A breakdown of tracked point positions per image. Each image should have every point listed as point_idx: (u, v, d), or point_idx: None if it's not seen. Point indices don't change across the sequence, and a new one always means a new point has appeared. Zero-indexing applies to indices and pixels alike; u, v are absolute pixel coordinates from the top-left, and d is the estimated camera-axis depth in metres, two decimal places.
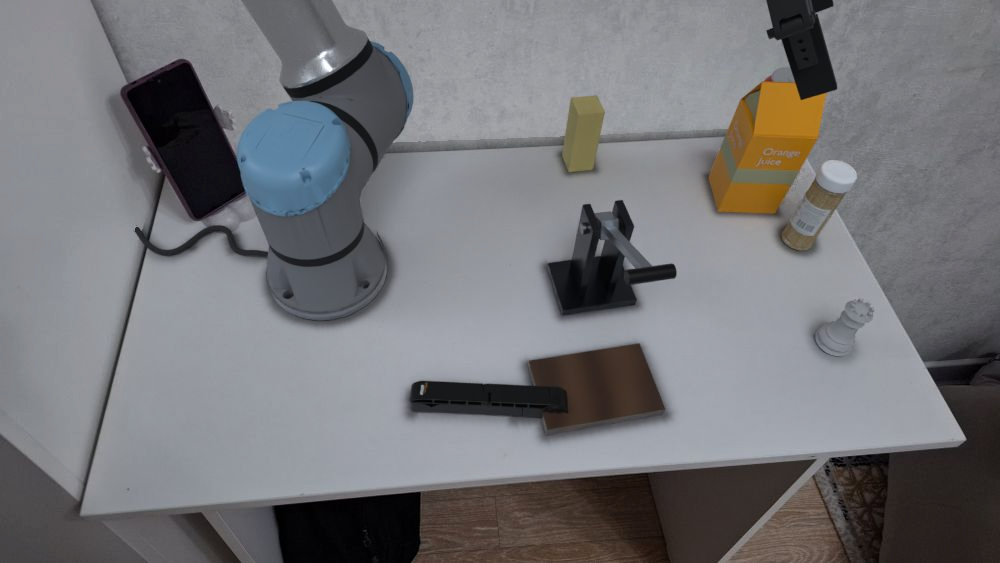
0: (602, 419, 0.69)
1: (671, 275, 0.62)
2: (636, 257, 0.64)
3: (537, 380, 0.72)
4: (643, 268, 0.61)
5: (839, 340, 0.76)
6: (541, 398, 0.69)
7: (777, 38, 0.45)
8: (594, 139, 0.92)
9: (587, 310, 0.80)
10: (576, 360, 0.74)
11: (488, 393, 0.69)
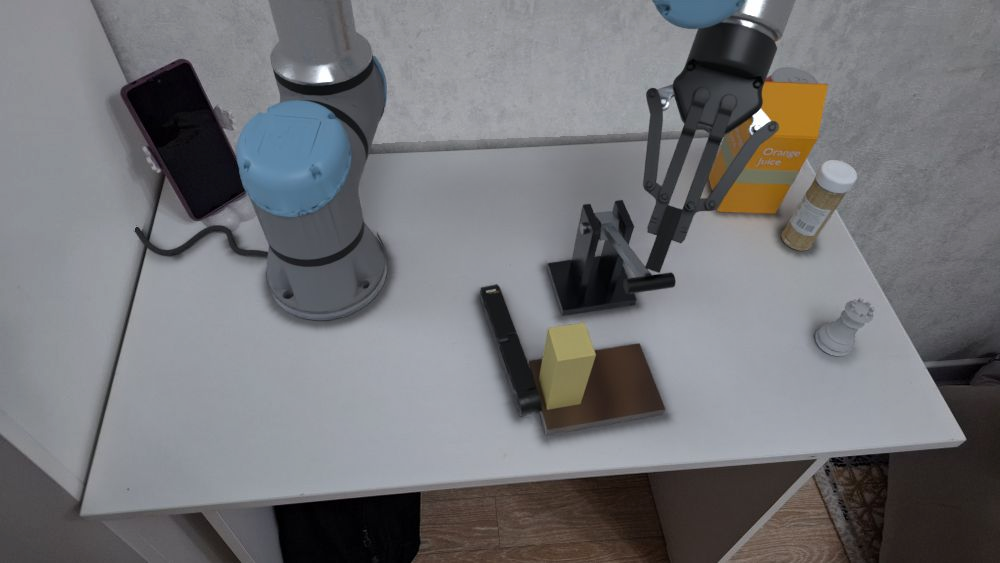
0: (602, 419, 0.69)
1: (670, 284, 0.62)
2: (635, 264, 0.65)
3: (537, 380, 0.72)
4: (642, 277, 0.62)
5: (839, 340, 0.76)
6: (520, 383, 0.70)
7: (712, 210, 0.59)
8: (581, 379, 0.66)
9: (587, 310, 0.80)
10: None
11: (507, 339, 0.74)
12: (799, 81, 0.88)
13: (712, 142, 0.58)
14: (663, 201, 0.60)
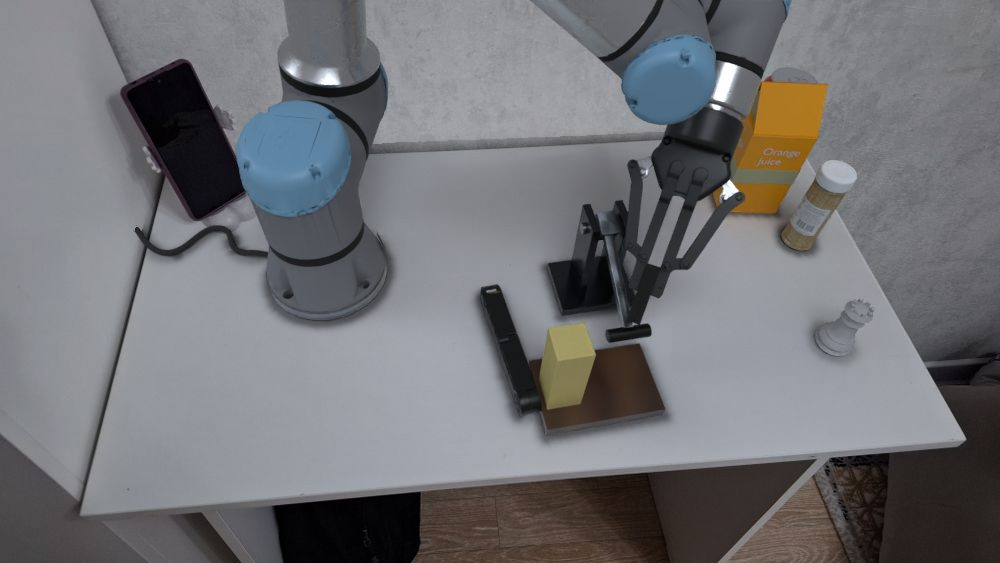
0: (602, 419, 0.69)
1: None
2: (621, 306, 0.71)
3: (537, 380, 0.72)
4: (624, 333, 0.70)
5: (839, 340, 0.76)
6: (520, 383, 0.70)
7: (686, 269, 0.66)
8: (581, 379, 0.66)
9: (587, 310, 0.80)
10: None
11: (508, 339, 0.74)
12: (799, 81, 0.88)
13: (686, 209, 0.65)
14: (642, 261, 0.67)
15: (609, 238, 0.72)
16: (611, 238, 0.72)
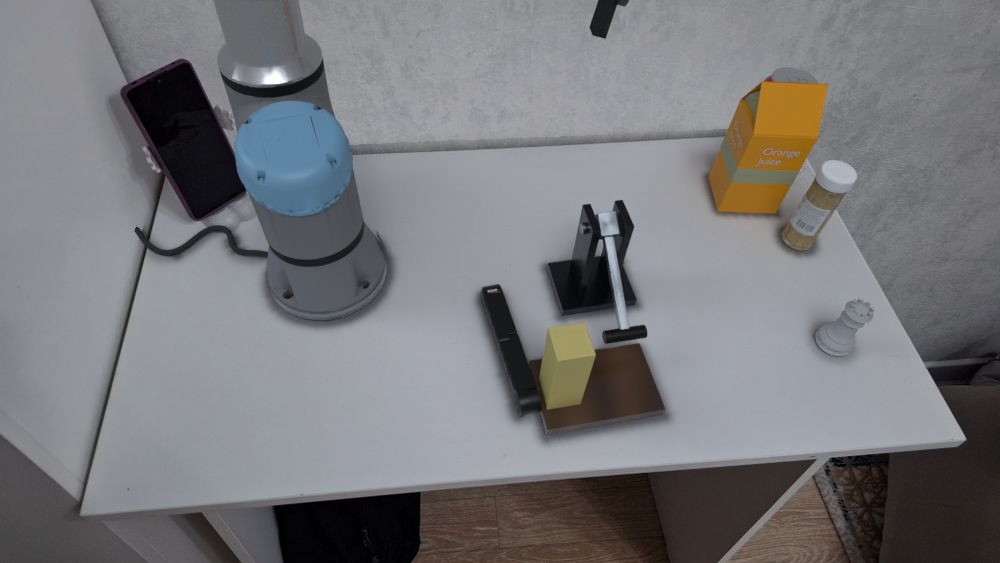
0: (602, 419, 0.69)
1: None
2: (619, 308, 0.72)
3: (537, 380, 0.72)
4: (620, 334, 0.71)
5: (839, 340, 0.76)
6: (520, 382, 0.70)
7: None
8: (581, 379, 0.66)
9: (587, 310, 0.80)
10: None
11: (508, 339, 0.74)
12: (799, 81, 0.88)
13: None
14: None
15: (609, 239, 0.73)
16: (611, 239, 0.73)
